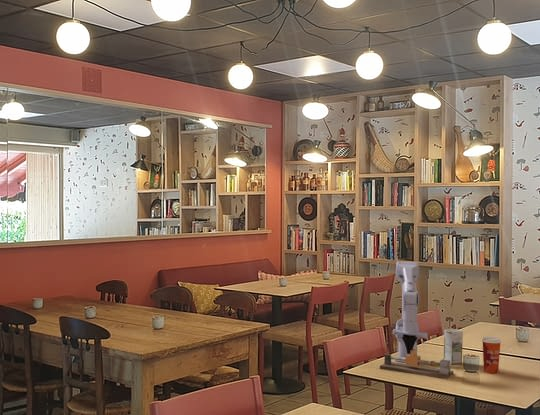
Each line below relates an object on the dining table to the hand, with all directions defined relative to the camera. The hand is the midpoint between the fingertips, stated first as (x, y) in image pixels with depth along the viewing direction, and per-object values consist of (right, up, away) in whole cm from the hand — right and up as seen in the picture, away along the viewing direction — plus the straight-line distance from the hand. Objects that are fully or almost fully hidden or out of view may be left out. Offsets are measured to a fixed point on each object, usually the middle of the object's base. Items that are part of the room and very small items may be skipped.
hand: (409, 353), depth 270 cm
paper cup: (+34, -8, 0) cm, 35 cm away
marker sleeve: (+1, -5, -1) cm, 5 cm away
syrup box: (+22, -8, +15) cm, 28 cm away
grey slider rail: (+2, -7, -2) cm, 8 cm away
